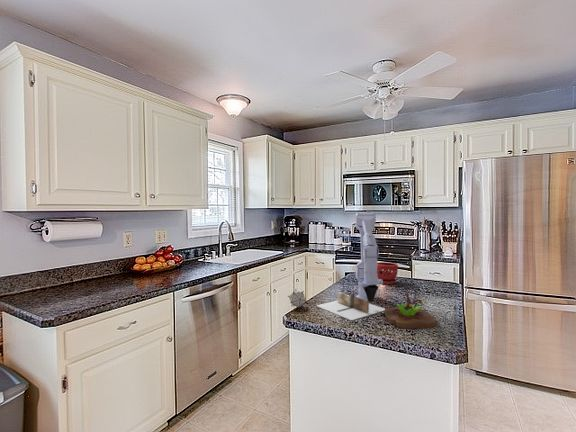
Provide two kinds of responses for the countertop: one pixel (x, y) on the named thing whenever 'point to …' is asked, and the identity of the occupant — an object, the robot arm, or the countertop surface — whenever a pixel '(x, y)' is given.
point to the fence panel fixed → (346, 299)
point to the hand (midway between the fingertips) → (370, 301)
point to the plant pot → (387, 272)
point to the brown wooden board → (361, 304)
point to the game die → (297, 298)
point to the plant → (409, 316)
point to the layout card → (349, 310)
